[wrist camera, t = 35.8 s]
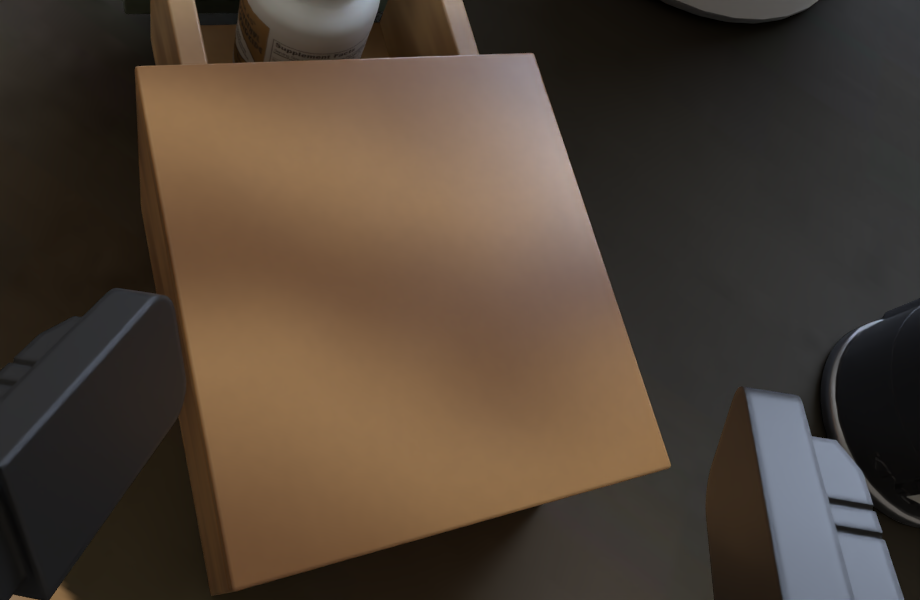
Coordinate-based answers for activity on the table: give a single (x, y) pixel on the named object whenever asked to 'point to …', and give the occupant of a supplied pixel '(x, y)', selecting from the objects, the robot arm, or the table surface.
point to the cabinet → (379, 304)
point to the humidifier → (743, 9)
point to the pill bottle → (302, 29)
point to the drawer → (397, 35)
